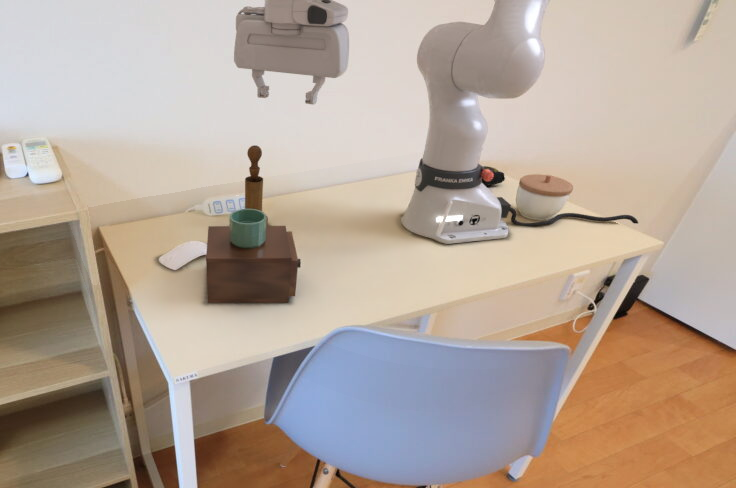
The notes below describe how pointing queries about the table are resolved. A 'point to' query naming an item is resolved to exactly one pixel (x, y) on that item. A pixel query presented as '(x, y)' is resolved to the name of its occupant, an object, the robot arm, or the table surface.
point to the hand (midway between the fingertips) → (286, 100)
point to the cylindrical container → (247, 228)
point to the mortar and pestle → (254, 181)
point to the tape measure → (496, 179)
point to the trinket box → (542, 196)
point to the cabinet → (248, 268)
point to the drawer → (293, 264)
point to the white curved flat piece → (183, 254)
